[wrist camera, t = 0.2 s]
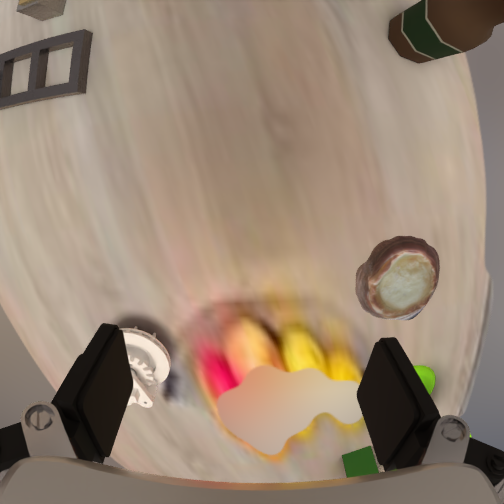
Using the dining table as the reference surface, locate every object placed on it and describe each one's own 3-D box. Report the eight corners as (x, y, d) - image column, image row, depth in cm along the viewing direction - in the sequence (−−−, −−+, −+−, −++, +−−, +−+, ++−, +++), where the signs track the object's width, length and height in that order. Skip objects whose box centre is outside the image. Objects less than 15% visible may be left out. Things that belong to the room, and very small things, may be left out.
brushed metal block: (47, -1, 27) (20, -14, 20) (67, -7, 27) (41, -23, 20) (42, 21, 28) (13, 10, 21) (63, 14, 28) (35, 1, 21)
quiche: (398, 347, 51) (406, 361, 47) (310, 304, 47) (315, 319, 43) (468, 254, 44) (482, 263, 41) (390, 187, 40) (403, 193, 36)
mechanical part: (182, 326, 47) (166, 379, 36) (167, 376, 51) (154, 428, 40) (114, 303, 45) (84, 349, 35) (108, 356, 50) (85, 403, 39)
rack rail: (-24, 116, 33) (-33, 117, 31) (-19, 67, 29) (-28, 66, 27) (85, 93, 34) (77, 92, 32) (92, 33, 30) (84, 29, 28)
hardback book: (376, 470, 68) (395, 536, 46) (351, 478, 69) (367, 546, 47) (370, 445, 62) (394, 525, 40) (341, 455, 63) (360, 536, 41)
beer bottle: (424, 15, 29) (538, -32, 7) (438, 64, 32) (567, 45, 10) (378, 14, 30) (485, -56, 8) (394, 65, 33) (522, 30, 11)
